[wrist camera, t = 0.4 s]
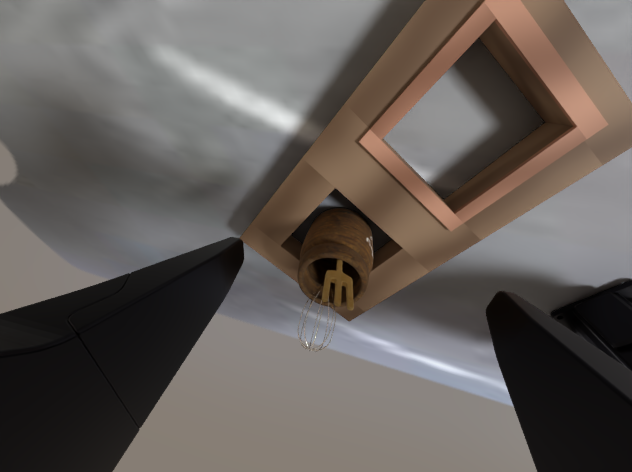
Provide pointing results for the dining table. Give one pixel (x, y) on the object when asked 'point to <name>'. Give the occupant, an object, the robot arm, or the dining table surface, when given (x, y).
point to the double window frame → (487, 186)
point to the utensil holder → (335, 262)
